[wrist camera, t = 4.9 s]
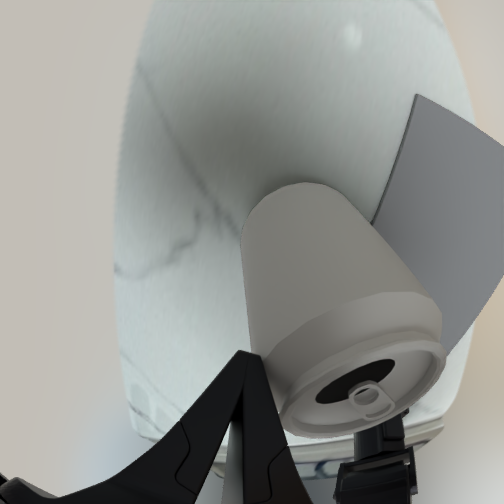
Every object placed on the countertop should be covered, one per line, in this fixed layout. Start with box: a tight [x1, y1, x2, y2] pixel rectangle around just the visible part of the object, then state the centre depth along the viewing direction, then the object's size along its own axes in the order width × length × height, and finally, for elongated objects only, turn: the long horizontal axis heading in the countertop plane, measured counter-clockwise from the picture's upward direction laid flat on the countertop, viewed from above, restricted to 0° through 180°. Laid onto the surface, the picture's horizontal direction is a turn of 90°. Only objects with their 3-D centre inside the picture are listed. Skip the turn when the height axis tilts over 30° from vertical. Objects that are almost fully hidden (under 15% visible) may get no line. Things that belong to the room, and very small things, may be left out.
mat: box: [372, 94, 504, 356], centre depth 18 cm, size 20×14×1 cm
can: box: [240, 182, 447, 438], centre depth 13 cm, size 8×8×12 cm
